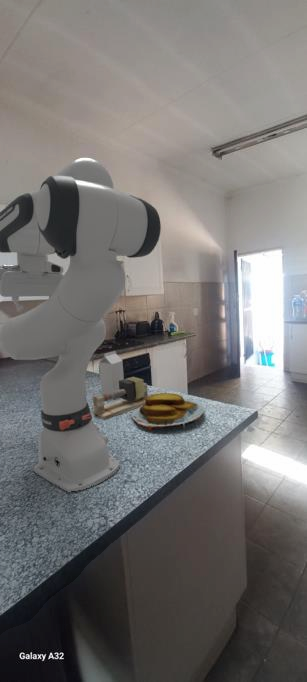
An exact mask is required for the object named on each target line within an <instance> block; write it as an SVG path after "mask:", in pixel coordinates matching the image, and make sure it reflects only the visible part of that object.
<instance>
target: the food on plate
mask: <svg viewBox="0 0 307 682" xmlns="http://www.w3.org/2000/svg"><path fill="white" fill-rule="evenodd" d="M145 402H146V403H145V404H143V406H140V407H138V408H135V409H134V410H133V412H131V414H130V415H131V417H132V420H134V421H135V422H136V424H137V425H141V426H142V427H144V428H145V427H146V428H148V432H152V428H165V427H174V426H180V425H181V424H182V425H183V426H182V427H183V428H185V425H186V424H188V423H189V422H193V421H195V420H196V421H197V420H198V419H199V418H200V417H201V416H202V415H203V413H204V412H205V410H204V409H205V408H204V405H202V404H201V403H199V402H197V401H195V400H191V399H185V398H184V397H183V396H182V395H179V394H178V393H170V392H165V393H163V392H162V393H161V392H160V393H154V394H151V395H148V397H146V399H145ZM142 417H144V418H145V420H144V418H143V419H142ZM133 425H134V424H133V423H132V426H133Z"/></svg>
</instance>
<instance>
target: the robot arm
mask: <svg viewBox="0 0 307 682" xmlns="http://www.w3.org/2000/svg"><path fill="white" fill-rule="evenodd" d="M113 182H114V181H113V179H112V177H111V175H110V173H109V171H108V169H107V168H106V167H105V166H104V165H103V163H100V162H99V161H97V160H96V159H93V158H89V157H81V158H77V159H75V160H73V161H72V162H70V163H68V164H67V165H65V166H64V167H63V168H62V169H61V170H59V171H58V172H57V173H56V175H51V176H48V177H47V178H46V179H45V180H44V181H43V182H42V183H41V185H40V187H39V188H38V189H35V190H33V191H30V192H27V193H23V194H22V195H19V196H17V197H16V198H14V199H13V201H11V202H10V203H9V204H8V205H7V206H5V207H4V208H3V209H2V210H1V211H0V253H1V254H2V253H3V254H4V253H6V254H7V253H8V254H11V253H16V261H17V262H16V263H17V265H14V264H13V265H12V264H10V265H9V264H2V265H1V266H0V296H1V297H3V298H9V297H10V298H11V301H12V303H14V305H15V306H16V307H15V308H16V312H18V313H19V312H20V313H21V312H24V305H21V304H20V303H19V302H18V301H20V297H48V299H46V300H45V301H43V302H41V303H40V304H39V305H37V306H35V307H34V308H32V309H30V310H28V311H26V312H24V313H22V314H19V315H16V316H14V317H11V318H8V319H6V320H5V322H4V323H3V325H2V326H1V328H0V345H1V346H0V347H1V348H2V349H3V351H4V352H5V354H7V356H8V357H10V358H11V359H13V360H14V361H16V360H18V361H27V360H28V361H35V360H36V361H37V360H42V359H48V358H54V357H58V359H57V361H56V363H55V365H54V366H53V368H51V369H50V370H49V371H48V372H46V373H45V374H44V375H43V376H42V378H41V380H40V382H39V391H40V398H41V407H42V408H41V411H40V412H41V415H40V418H41V419H40V420H41V425H42V429H41V430H42V431H41V432H40V434H39V436H38V437H37V440H38V441H37V442H38V443H37V444H38V458H39V459H38V462H37V464H36V465H35V466H34V469H33V472H34V473H35V474H37V475H39V476H40V477H42V478H43V479H45V480H46V481H49V482H50V483H52V484H53V485H55V484H56V485H57V486H56V485H55V486H56V487H58V486H59V487H60V488H59V487H58V488H59V489H61V488H62V489H61V490H63V489H64V490H66V491H68V492H67V493H69V492H70V493H72V492H71V491H77V492H79V491H78V490H81V491H83V489H84V490H86V488H87V489H90V488H92V487H94V486H96V485H98V484H100V483H102V482H104V481H106V480H107V479H109V478H110V476H111V477H112V476H113V475H114V474H116V473H117V472H118V471H117V470H119V469H120V468H121V467H120V463H119V461H118V460H117V459H116V458H115V456H114V455H113V454H112V453H111V451H109V449H108V448H109V447H108V443H109V438H108V435H107V434H104V433H103V434H101V431H100V427H99V426H98V425H95V422H94V421H93V420H92V418H93V417H92V410H91V408H90V406H89V402H87V401H88V400H87V391H86V390H87V388H86V387H87V386H86V378H87V376H86V375H87V370H88V366H89V363H90V361H91V358H93V357H92V356H93V355H94V353H95V352H96V351H97V349H98V348H99V347H100V346H102V344H103V343H104V340H105V338H106V335H107V328H106V322H105V321H104V318H105V317H106V316H107V315H108V314H109V313H110V312H111V311H112V309H113V308H114V306H115V305H116V303H117V302H118V300H119V299H120V296H121V295H122V293H123V290H124V289H125V286H126V279H127V278H126V273H125V269H124V267H123V265H122V264H121V262H120V261H119V260H118V259H117V257H118V256H120V257H127V258H132V259H133V258H134V259H135V258H142V257H145V256H148V255H149V254H151V253H152V252H153V251H154V250H155V247H156V246H157V244H158V242H159V240H160V236H161V232H162V231H161V229H162V227H161V226H162V225H161V218H160V213H159V212H158V210H157V209H156V207H154V206H153V205H152V204H150V202H147V201H146V200H144V199H143V198H141V197H137V196H134V195H131V194H127V193H125V192H122V191H120V190H118V189H117V190H116V189H114V183H113ZM54 254H56V256H58V257H59V258H60V259H63V260H66V259H67V258H69V265H68V269H67V270H66V272H65V273H64V267H63V266H61V265H59V264H56V263H54V262H51V261H49V255H54ZM63 273H64V274H63ZM119 467H120V468H119ZM108 477H109V478H108ZM105 479H106V480H105ZM93 485H94V486H93ZM91 486H92V487H91ZM64 490H63V491H64ZM66 491H65V492H66Z"/></svg>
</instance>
